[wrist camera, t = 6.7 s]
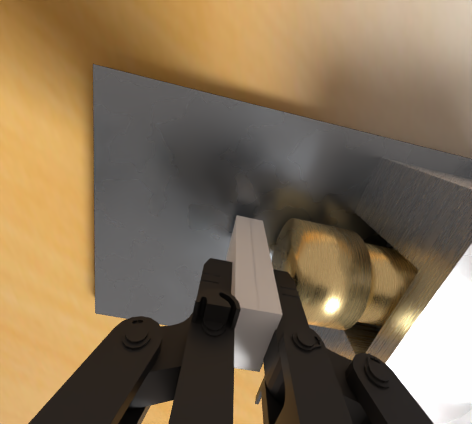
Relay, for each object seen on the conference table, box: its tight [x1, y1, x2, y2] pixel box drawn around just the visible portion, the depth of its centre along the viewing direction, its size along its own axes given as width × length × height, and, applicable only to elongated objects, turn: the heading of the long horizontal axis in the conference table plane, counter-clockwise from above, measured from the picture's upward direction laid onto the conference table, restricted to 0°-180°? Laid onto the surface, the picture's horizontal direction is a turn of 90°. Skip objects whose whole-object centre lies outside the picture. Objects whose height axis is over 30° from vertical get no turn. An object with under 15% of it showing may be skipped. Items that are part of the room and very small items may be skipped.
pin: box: [272, 218, 419, 330], centre depth 13 cm, size 15×5×5 cm, turn 77°
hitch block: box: [93, 64, 472, 424], centre depth 13 cm, size 28×16×8 cm, turn 77°
